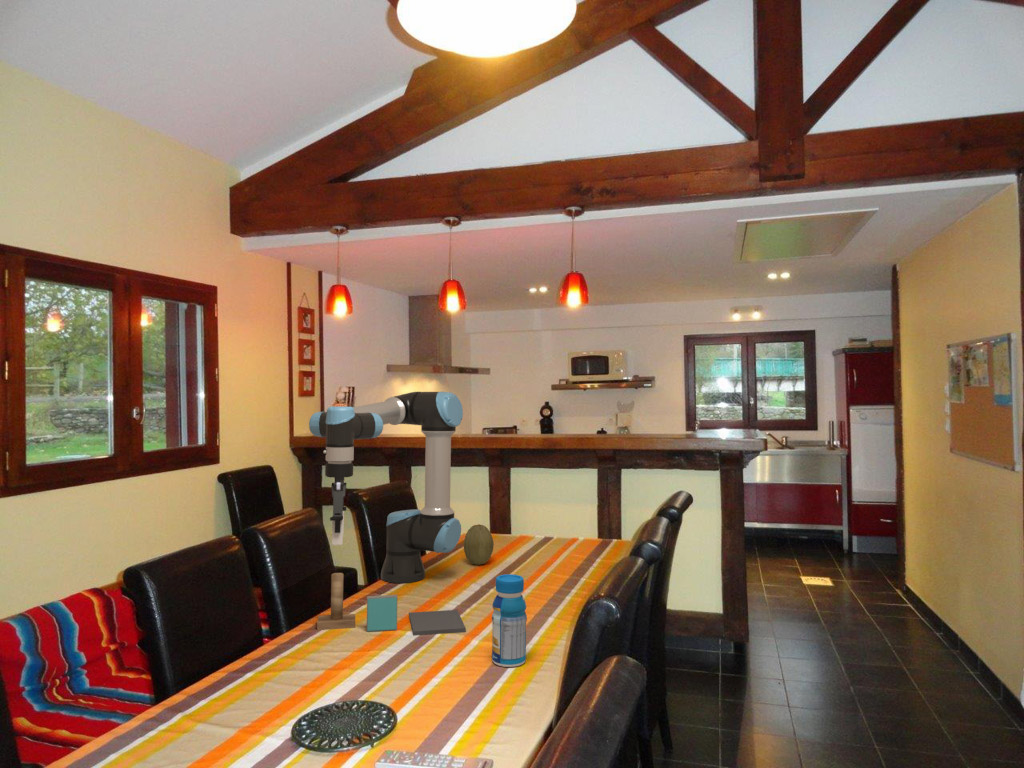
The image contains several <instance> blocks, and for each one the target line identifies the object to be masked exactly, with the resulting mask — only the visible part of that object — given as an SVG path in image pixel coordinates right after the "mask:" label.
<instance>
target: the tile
mask: <svg viewBox="0 0 1024 768" xmlns="http://www.w3.org/2000/svg"><path fill="white" fill-rule="evenodd" d="M397 630H398V594H384V595H367V596H366V632H367V633H371V632H372V633H373V632H375V633H376V632H391V631H397Z"/></svg>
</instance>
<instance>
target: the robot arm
mask: <svg viewBox="0 0 1024 768" xmlns="http://www.w3.org/2000/svg"><path fill="white" fill-rule="evenodd" d="M463 409H464V408H463V404H462V403H461V400H460V399H459V397H458V396H457V395H456V394H455V393H453V392H450V391H412V392H407V393H404V394H403V393H402V394H399V395H395V396H390V397H388V398H386V399H385V400H384V401H380V402H374V403H370V404H365V405H364V404H363V405H359V406H354V407H353V406H341V405H340V406H338V405H337V406H335V405H334V406H329V407H328V408H327V409H326V411H317V412H314V413H313V414H312V415H311V416H310V418H309V421H308V426H309V427H308V428H309V431H310V433H311V434H312V435H313V436H315V437H320V438H325V449H324V450H323V454H324V455H325V461H326V463H325V465H324V466H325V467H324V475H325V477H327V478H334V482H332V483H331V498H332V499H333V503H332V504H333V505H332V517H331V516H330V517H329V521H332V527H331V528H332V529H331V531H332V534H331V537H332V538H331V545H332V546H342V545H343V544H344V543H343V541H344V540H343V539H344V534H345V533H344V532H345V531H344V530H345V529H344V528H345V526H344V525H345V511H347V506H345V500H344V499H345V498H346V491H347V482H345V478H350V477H353V476H354V463H353V461H354V460H355V459H354V455H355V453H354V452H355V450H354V447H355V445H354V442H355V441H354V440H371V439H375V438H378V437H379V436H380V435H381V434H382V433H383V431H384V425H393V426H397V425H411V426H412V425H413V426H420V427H421V429H420V430H421V431H420V432H421V433H422V434H423V435H424V436H425V458H424V461H425V463H424V464H425V465H424V468H425V470H424V471H425V473H424V507H423V508H422V509H421V510H420V509H417V508H416V509H406V510H404V509H403V510H398V511H393V512H391V513H389V514H388V515H387V519H386V525H385V526H386V556H385V558H384V561H383V564H382V568H381V570H380V571H381V572H380V579H381V580H382V581H384V582H388V583H395V584H404V583H405V584H407V583H413V582H418V581H422V580H424V579H425V577H426V569H425V566H424V562H423V560H422V556H421V551H427V552H434V553H436V554H438V553H442V554H443V553H444V554H448V553H451V552H452V551H453V550H455V548H456V547H457V544H459V542H460V539H461V533H462V525H461V522H460V519H457V518H456V517H455V511H454V509H453V508H452V507H451V470H452V469H451V466H452V465H451V462H452V460H451V457H452V456H451V455H452V436H453V435H454V434H455V433H456V430H457V429H456V427H458V426H460V425H461V423H462V420H463V417H464V410H463Z"/></svg>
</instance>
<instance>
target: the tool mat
mask: <svg viewBox="0 0 1024 768" xmlns="http://www.w3.org/2000/svg"><path fill="white" fill-rule="evenodd" d="M408 618H409V622H410V626H411V632H412V636H423V635H425V636H426V635H427V636H428V635H438V634H453V633H456V634H457V633H466V632H467V631H466V630H467V628H466V626H465V623H464V622H463V619H462V617H461V614H460V613H459V610H458V609H450V610H432V611H431V610H429V611H415V612H413V611H412V612H408Z"/></svg>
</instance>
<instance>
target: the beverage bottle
mask: <svg viewBox="0 0 1024 768" xmlns="http://www.w3.org/2000/svg"><path fill="white" fill-rule="evenodd" d="M524 587H525V581H524V577H523V576H522V575H518V574H514V573H513V574H511V573H510V574H509V573H508V574H500V575H498V576H496V577H495V591H496V593H497V594H496V595H495V597H494V599H493V603H492V606H491V608H492V610H493V612H492V613H491V622H492V623H491V624H492V625H491V628H492V631H491V634H492V635H491V642H492V643H491V652H492V653H491V660H492V662H493V663H494V664H495V665H497V666H499V667H503V668H504V667H505V668H515V667H519V666H521V665H523V664H524V663H526V660H527V654H526V653H527V652H526V651H527V649H526V648H527V647H526V646H527V645H526V644H527V621H528V614H527V612H526V609H527V603H526V599H525V598H524V596H523V593H524Z"/></svg>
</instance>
